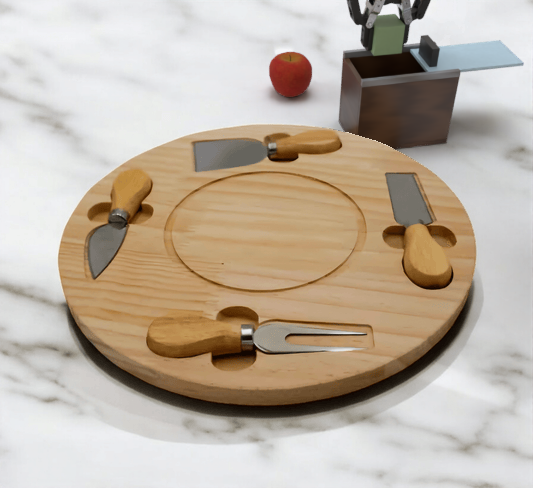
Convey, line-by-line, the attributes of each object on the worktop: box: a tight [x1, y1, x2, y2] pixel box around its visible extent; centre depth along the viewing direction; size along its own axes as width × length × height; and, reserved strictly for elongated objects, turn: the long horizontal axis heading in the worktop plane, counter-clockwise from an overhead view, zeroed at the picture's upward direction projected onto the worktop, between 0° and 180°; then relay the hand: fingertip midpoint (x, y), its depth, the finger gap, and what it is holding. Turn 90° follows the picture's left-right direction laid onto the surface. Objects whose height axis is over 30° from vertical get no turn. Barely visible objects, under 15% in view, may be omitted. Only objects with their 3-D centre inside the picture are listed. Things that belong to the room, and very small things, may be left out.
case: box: [338, 41, 462, 150], centre depth 107 cm, size 16×11×13 cm
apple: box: [268, 51, 313, 98], centre depth 119 cm, size 8×8×8 cm
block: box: [371, 13, 405, 56], centre depth 99 cm, size 4×4×4 cm
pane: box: [410, 34, 524, 73], centre depth 103 cm, size 16×8×4 cm, turn 101°
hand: (383, 46), depth 100 cm, fingers closed on block, 4 cm apart
